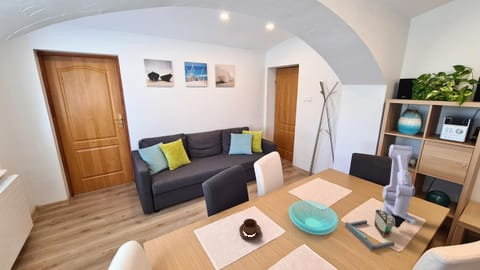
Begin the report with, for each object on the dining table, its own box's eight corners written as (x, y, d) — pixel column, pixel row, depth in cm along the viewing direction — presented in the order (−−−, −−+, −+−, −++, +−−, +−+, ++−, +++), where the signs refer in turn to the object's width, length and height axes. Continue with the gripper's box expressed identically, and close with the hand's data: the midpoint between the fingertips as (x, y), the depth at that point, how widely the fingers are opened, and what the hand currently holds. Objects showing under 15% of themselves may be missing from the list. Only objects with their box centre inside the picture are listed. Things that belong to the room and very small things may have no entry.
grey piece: (365, 222, 111) (366, 217, 110) (394, 245, 95) (395, 239, 94) (345, 226, 108) (345, 221, 107) (371, 251, 92) (372, 244, 91)
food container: (397, 241, 97) (401, 225, 95) (384, 239, 98) (387, 223, 96) (384, 225, 109) (388, 210, 106) (372, 223, 110) (375, 208, 108)
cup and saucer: (263, 227, 108) (263, 218, 106) (258, 243, 97) (258, 233, 95) (243, 223, 112) (243, 214, 110) (236, 237, 101) (236, 228, 99)
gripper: (382, 198, 107) (378, 219, 111) (410, 214, 94) (404, 237, 97) (392, 197, 109) (388, 217, 112) (421, 212, 95) (415, 235, 99)
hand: (396, 226), depth 105 cm, fingers closed
